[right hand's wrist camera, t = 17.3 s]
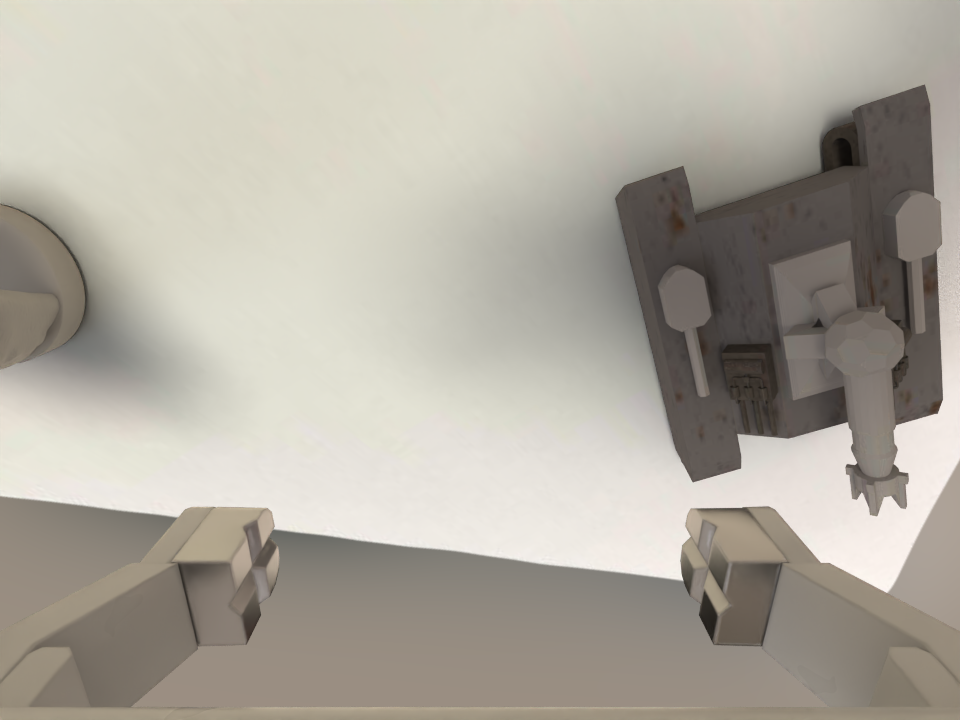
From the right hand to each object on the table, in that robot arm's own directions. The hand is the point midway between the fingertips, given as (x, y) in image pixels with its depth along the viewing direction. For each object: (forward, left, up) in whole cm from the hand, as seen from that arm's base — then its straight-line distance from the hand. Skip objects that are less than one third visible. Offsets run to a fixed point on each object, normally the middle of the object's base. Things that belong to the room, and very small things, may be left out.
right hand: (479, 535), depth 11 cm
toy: (-19, +14, -36) cm, 43 cm away
